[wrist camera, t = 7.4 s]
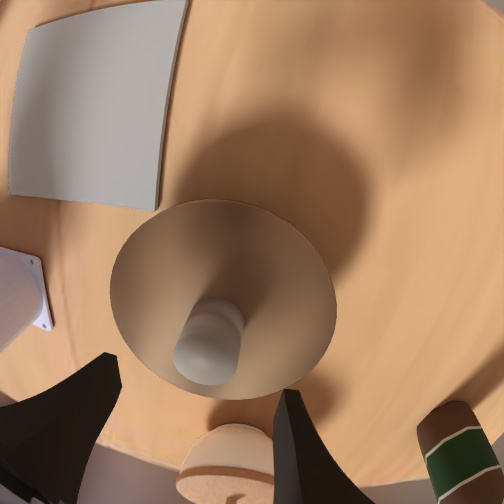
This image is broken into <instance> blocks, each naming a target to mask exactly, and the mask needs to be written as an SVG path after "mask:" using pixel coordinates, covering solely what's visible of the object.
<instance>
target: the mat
mask: <svg viewBox="0 0 504 504" xmlns="http://www.w3.org/2000/svg"><path fill="white" fill-rule="evenodd" d="M188 3H189V1H188V0H157V1H148V2H140V3H132V4H126V5H120V6H114V7H109V8H104V9H99V10H94V11H90V12H86V13H82V14H78V15H74V16H70V17H67V18H63V19H60V20H57V21H54V22H50V23H47V24H44V25H41V26H39V27H36V28H33V29H30V30H28V33H27V36H26V40H25V44H24V48H23V52H22V56H21V61H20V65H19V70H18V75H17V81H16V87H15V93H14V100H13V108H12V117H11V128H10V142H9V194H10V195H20V196H30V197H40V198H49V199H58V200H67V201H76V202H84V203H93V204H101V205H109V206H117V207H125V208H132V209H140V210H147V211H156V210H158V197H159V184H160V172H161V161H162V151H163V142H164V134H165V126H166V118H167V111H168V104H169V98H170V91H171V85H172V79H173V73H174V68H175V62H176V57H177V52H178V47H179V42H180V38H181V33H182V28H183V24H184V20H185V15H186V11H187V7H188Z"/></svg>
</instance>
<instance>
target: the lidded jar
mask: <svg viewBox="0 0 504 504" xmlns="http://www.w3.org/2000/svg"><path fill="white" fill-rule="evenodd" d="M176 488H177V490H178V491H179V492H180V494H181V495H183V496H184V497H185V498H187V499H188V500H190V501H192V502H194V503H196V504H273V497H274V463H273V440H271V439H270V438H269V437H268V436H266V434H265V433H264V432H263V431H262V430H260V429H258V428H256V427H253V426H250V425H246V424H239V423H230V424H224V425H220V426H218V427H216V428H215V429H214V430H212V431H210V432H208V433H205V434H204V435H202V436H201V437H200V438H198V439H197V440H196V442H195V443H194V444H193V445H192V446H191V448H190V449H189V451H188V453H187V455H186V457H185V459H184V462H183V464H182V468H181V471H180V474H179V476H178V478H177V481H176Z"/></svg>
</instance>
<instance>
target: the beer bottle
mask: <svg viewBox="0 0 504 504" xmlns="http://www.w3.org/2000/svg"><path fill="white" fill-rule="evenodd" d="M417 436H418V442H419V445H420V449H421V452H422V455H423V458H424V461H425V464H426V467H427V470H428V473H429V476H430V479H431V482H432V486H433V489H434V492H435V496H436V499H437V503H438V504H502V502H503V498H504V475H503V472H502V469H501V466H500V464H499V462H498V460H497V458H496V455H495V453H494V451H493V449H492V447H491V445H490V443H489V441H488V439H487V437H486V435H485V433H484V431H483V429H482V427H481V425H480V423H479V421H478V420H477V418H476V416H475V414H474V412H473V411H472V409H471V408H470V406H469V405H468V403H466V402H459V401H451V402H449V403H447V404H445V405H443V406H441V407H439V408H437V409H435V410H433V411H431V412H430V414H429V415H428V416H427V417H426V418H425V419H424V420H423V421H422V422H421V423H420V424H419V425H418V426H417Z"/></svg>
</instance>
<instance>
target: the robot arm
mask: <svg viewBox="0 0 504 504" xmlns="http://www.w3.org/2000/svg"><path fill="white" fill-rule="evenodd" d="M31 324H32V325H35V326H37V327H40V328H42V329H45V330H47V331H52V330H53V324H52V320H51V315H50V311H49V306H48V301H47V296H46V290H45V285H44V279H43V272H42V265H41V260H40V259H39V257H37V256H33V255H29V254H25V253H22V252H18V251H14V250H10V249H7V248H3V247H0V355H1V354H2V353H3V352H4V351H5V350H6V349H7V348H8V347H9V346H10V345H11V344H12V343H13V342H14V341H15V340H16V339H17V338H18V337H19V336H20V335H21V334H22V333H23V332H24V331H25V330H26V329H27V328H28V327H29V326H30V325H31ZM121 389H122V383H121V378H120V373H119V367H118V361H117V356H116V355H113V354H110V353H106V352H104V353H102V354H101V355H100V356H98V357H97V358H95V359H94V360H92V361H91V362H90V363H88V364H87V365H85V366H84V367H83V368H81V369H80V370H78V371H77V372H75V373H74V374H73V375H71V376H70V377H68V378H67V379H65V380H63V381H62V382H60V383H58V384H57V385H55V386H53V387H52V388H50V389H48V390H46V391H44V392H42V393H40V394H38V395H36V396H33V397H31V398H28V399H26V400H23V401H20V402H17V403H14V404H11V405H8V406H4V407H0V504H76V503H77V498H78V493H79V489H80V485H81V482H82V477H83V474H84V471H85V468H86V465H87V462H88V459H89V456H90V454H91V451H92V448H93V446H94V443H95V442H96V440H97V438H98V436H99V434H100V432H101V431H102V429H103V427H104V425H105V423H106V421H107V420H108V418H109V416H110V414H111V412H112V410H113V408H114V407H115V404H116V402H117V399H118V397H119V394H120V391H121ZM272 439H273V463H274V497H273V504H375V503H374V502H373V501H371V500H370V499H369V498H368V497H367V496H366V495H365V494H363V493H362V491H360V490H359V489H358V487H357V486H356V485H355V484H354V483H353V482H352V481H351V480H350V479H349V478H348V477H347V476H346V475H345V473H344V472H343V471H342V470H341V468H340V467H339V466H338V464H337V463H336V462H335V460H334V459H333V458H332V456H331V455H330V453H329V452H328V450H327V448H326V447H325V445H324V443H323V442H322V440H321V438H320V436H319V435H318V433H317V431H316V429H315V427H314V425H313V423H312V421H311V419H310V416H309V414H308V412H307V410H306V407H305V405H304V402H303V399H302V397H301V394H300V392H299V391H298V390H291V389H283V392H282V396H281V399H280V402H279V405H278V408H277V411H276V414H275V416H274V425H273V438H272Z"/></svg>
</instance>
